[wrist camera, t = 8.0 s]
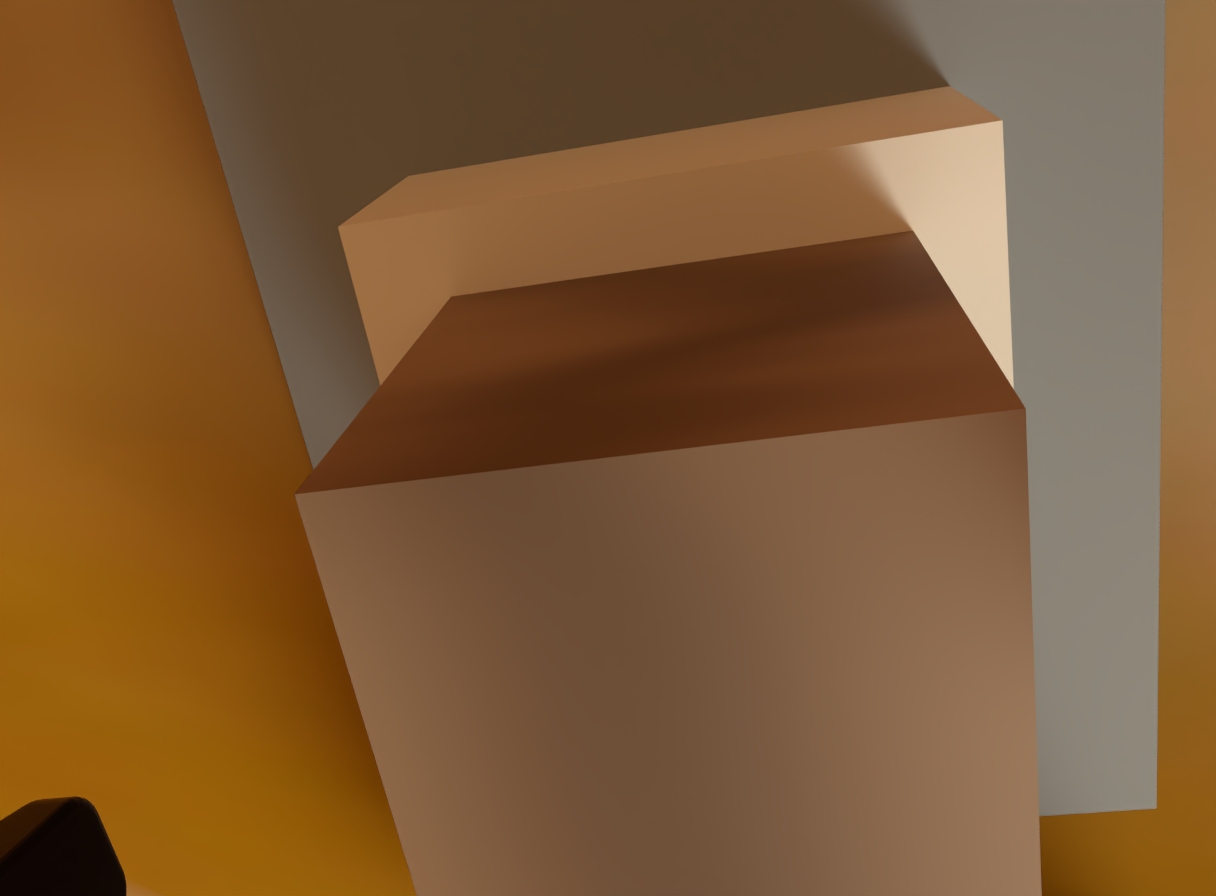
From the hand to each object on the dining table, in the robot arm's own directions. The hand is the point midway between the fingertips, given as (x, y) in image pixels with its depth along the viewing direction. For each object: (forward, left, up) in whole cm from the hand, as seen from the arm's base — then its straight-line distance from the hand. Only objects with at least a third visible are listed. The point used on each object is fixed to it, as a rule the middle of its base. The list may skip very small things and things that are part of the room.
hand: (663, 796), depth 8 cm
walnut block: (0, 0, -5) cm, 5 cm away
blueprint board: (0, 0, -9) cm, 9 cm away
